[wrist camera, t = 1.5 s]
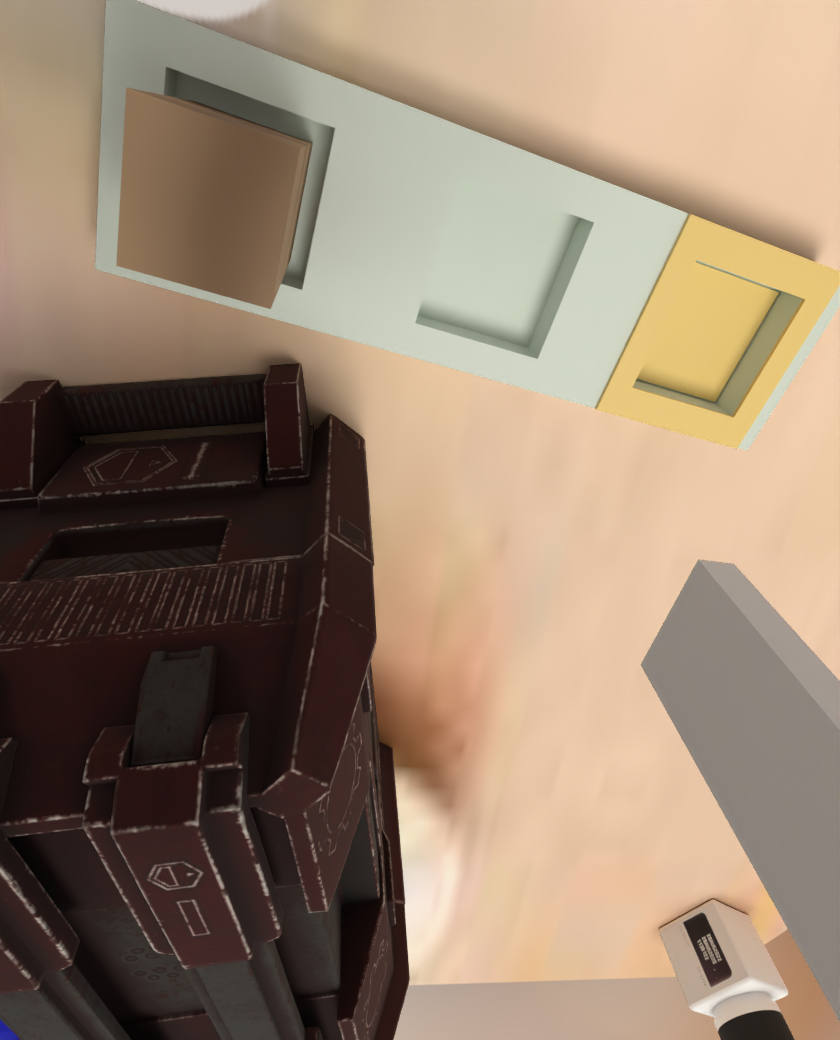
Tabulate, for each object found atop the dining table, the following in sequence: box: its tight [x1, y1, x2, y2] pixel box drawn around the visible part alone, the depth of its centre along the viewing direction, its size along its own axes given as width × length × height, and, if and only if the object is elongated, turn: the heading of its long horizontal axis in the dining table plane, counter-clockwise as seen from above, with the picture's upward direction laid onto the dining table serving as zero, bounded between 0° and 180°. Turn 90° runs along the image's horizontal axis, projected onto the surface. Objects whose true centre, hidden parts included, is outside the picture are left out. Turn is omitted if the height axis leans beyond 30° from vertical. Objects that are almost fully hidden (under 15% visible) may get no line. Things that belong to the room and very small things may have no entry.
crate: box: [0, 364, 410, 1040], centre depth 31 cm, size 35×19×21 cm, turn 2°
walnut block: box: [116, 87, 313, 309], centre depth 21 cm, size 4×4×9 cm
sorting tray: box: [95, 0, 840, 450], centre depth 27 cm, size 32×9×3 cm, turn 73°
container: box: [659, 899, 794, 1040], centre depth 64 cm, size 8×8×13 cm
